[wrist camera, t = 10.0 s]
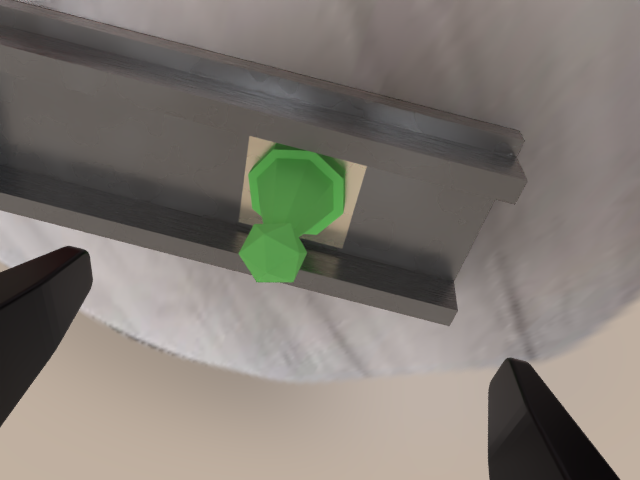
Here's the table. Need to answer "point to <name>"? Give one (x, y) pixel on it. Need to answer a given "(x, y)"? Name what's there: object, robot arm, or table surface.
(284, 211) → the game piece
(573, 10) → the table surface
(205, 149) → the track
